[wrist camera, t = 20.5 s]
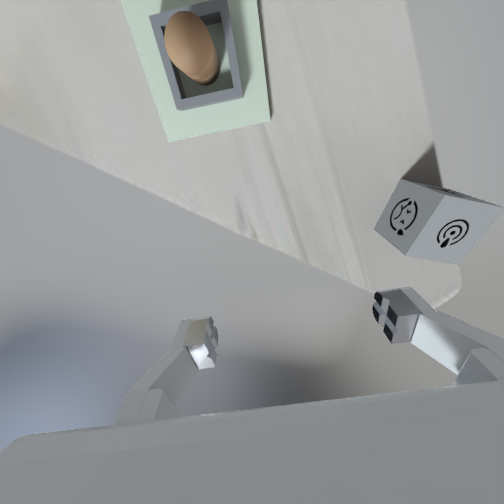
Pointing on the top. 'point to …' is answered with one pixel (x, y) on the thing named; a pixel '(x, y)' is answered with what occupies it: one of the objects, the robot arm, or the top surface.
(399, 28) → the top surface
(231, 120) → the collar holder
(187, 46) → the brown dome-topped peg
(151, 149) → the top surface
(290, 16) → the top surface
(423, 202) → the icon cube
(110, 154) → the top surface
